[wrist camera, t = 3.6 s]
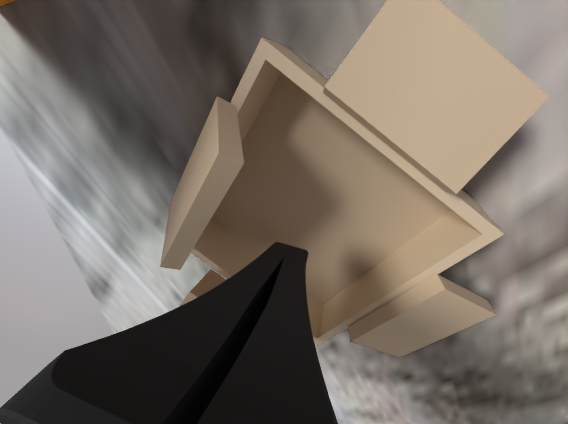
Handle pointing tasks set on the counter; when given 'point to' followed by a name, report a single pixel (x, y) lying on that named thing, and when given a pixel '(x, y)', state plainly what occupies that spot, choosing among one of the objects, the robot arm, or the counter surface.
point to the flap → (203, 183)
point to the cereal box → (5, 2)
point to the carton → (373, 173)
